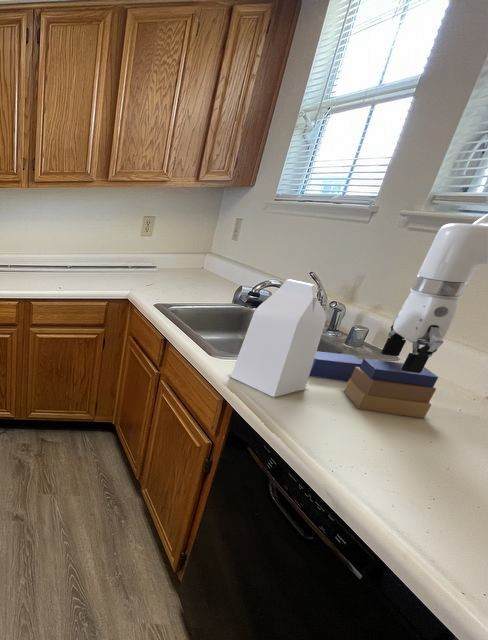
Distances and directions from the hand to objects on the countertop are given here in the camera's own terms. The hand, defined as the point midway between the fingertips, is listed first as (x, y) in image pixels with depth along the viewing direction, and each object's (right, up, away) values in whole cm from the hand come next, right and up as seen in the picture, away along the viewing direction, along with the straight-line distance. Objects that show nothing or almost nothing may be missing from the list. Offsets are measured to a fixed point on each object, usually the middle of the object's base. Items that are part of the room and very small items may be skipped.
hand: (399, 362), depth 93 cm
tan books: (0, -10, +5) cm, 11 cm away
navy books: (0, -2, +19) cm, 19 cm away
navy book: (0, -3, +1) cm, 4 cm away
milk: (-20, -5, +14) cm, 25 cm away
